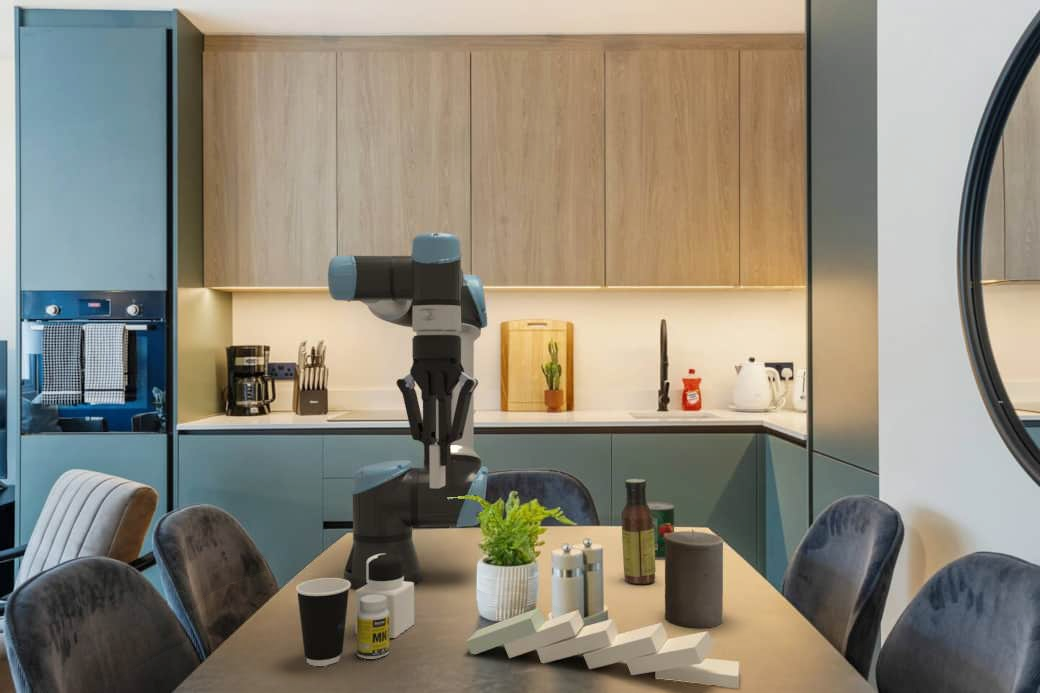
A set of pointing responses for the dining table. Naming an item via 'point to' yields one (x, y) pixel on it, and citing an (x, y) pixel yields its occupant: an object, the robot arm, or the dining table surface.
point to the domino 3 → (628, 646)
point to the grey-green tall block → (506, 631)
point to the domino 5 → (706, 673)
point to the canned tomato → (661, 525)
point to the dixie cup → (323, 618)
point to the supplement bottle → (373, 627)
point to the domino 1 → (547, 634)
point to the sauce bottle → (638, 535)
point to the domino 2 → (581, 641)
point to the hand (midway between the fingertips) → (437, 486)
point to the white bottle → (389, 590)
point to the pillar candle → (693, 579)
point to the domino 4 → (674, 654)
